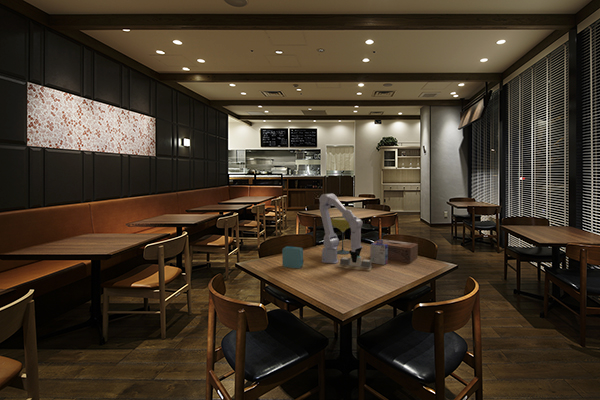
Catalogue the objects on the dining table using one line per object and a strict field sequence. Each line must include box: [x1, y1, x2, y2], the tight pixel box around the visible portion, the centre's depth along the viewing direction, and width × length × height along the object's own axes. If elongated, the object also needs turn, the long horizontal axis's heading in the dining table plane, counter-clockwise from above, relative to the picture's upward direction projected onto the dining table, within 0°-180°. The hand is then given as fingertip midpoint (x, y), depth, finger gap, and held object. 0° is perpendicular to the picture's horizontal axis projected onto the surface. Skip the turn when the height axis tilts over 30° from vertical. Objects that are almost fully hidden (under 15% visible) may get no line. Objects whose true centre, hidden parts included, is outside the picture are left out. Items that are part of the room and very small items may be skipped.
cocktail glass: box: [330, 216, 351, 255], centre depth 220 cm, size 18×18×25 cm
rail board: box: [338, 264, 373, 272], centre depth 186 cm, size 19×9×1 cm, turn 68°
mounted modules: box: [339, 256, 372, 267], centre depth 186 cm, size 18×5×3 cm, turn 68°
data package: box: [281, 245, 304, 270], centre depth 187 cm, size 12×4×12 cm, turn 69°
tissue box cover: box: [372, 238, 419, 264], centre depth 207 cm, size 26×14×10 cm, turn 53°
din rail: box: [338, 263, 373, 268], centre depth 186 cm, size 19×5×1 cm, turn 68°
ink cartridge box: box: [369, 239, 389, 266], centre depth 194 cm, size 10×6×14 cm, turn 56°
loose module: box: [349, 255, 362, 266], centre depth 186 cm, size 6×4×5 cm, turn 68°
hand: (355, 260), depth 186 cm, fingers open, 7 cm apart
